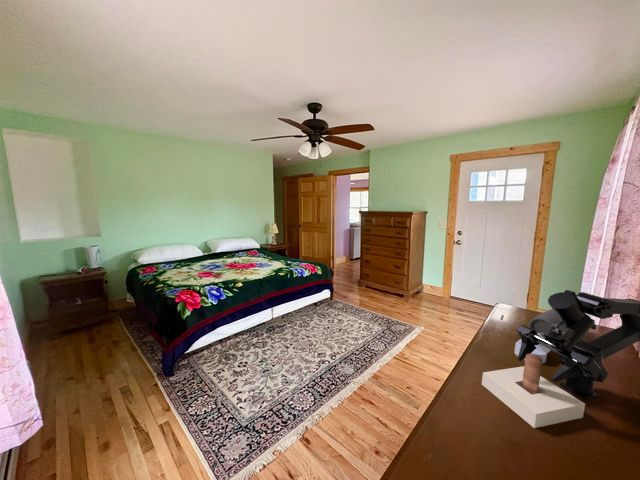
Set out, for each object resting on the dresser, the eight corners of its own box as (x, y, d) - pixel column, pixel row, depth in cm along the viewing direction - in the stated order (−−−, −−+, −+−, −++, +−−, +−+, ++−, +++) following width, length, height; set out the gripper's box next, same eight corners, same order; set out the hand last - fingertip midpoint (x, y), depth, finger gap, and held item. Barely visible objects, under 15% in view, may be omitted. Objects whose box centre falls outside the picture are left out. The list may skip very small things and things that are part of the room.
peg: (520, 393, 76) (525, 352, 74) (535, 398, 74) (542, 357, 72) (520, 400, 73) (526, 358, 71) (536, 406, 71) (543, 363, 69)
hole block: (523, 377, 83) (524, 366, 82) (582, 417, 68) (585, 404, 67) (481, 384, 80) (483, 372, 79) (534, 428, 64) (536, 413, 64)
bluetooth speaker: (547, 323, 122) (550, 303, 120) (574, 332, 114) (577, 310, 112) (525, 335, 110) (528, 313, 109) (553, 345, 102) (557, 322, 101)
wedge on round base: (523, 343, 103) (510, 354, 96) (526, 328, 102) (512, 337, 95) (553, 355, 96) (540, 366, 89) (555, 338, 95) (543, 348, 88)
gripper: (524, 300, 80) (491, 336, 79) (600, 328, 62) (558, 376, 61) (541, 321, 83) (509, 357, 82) (618, 354, 65) (578, 400, 64)
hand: (534, 370), depth 72 cm, fingers open, 9 cm apart
